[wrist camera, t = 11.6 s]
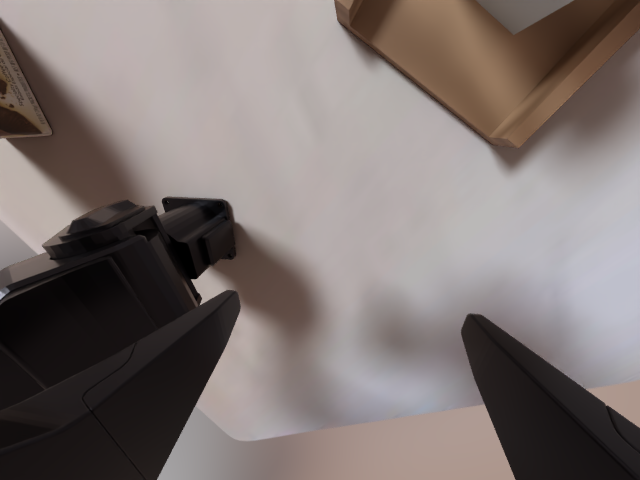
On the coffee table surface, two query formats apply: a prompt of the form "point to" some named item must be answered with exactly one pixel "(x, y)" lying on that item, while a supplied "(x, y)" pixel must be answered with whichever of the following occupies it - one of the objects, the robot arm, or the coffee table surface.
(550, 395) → the robot arm
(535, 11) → the tall block
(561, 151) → the coffee table surface
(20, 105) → the coffee box
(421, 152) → the coffee table surface
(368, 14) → the tray
